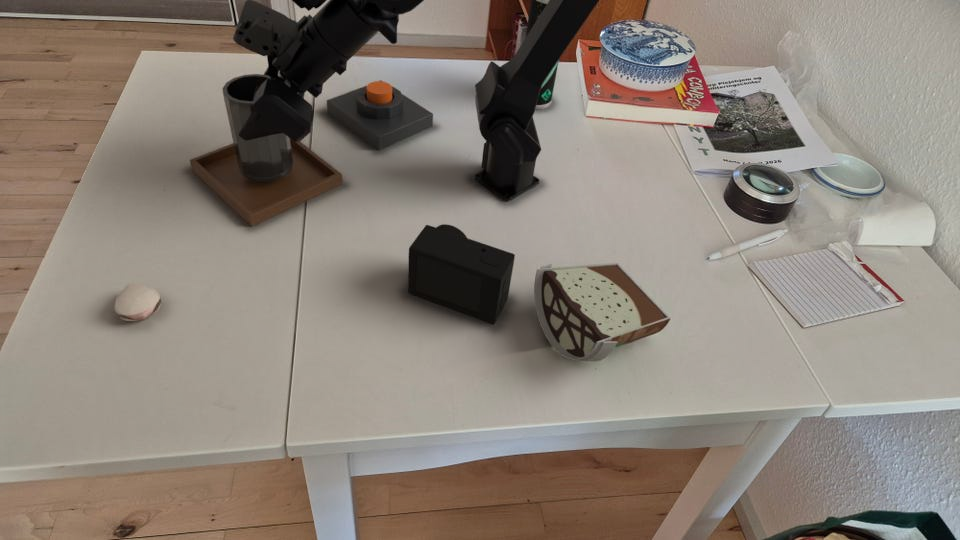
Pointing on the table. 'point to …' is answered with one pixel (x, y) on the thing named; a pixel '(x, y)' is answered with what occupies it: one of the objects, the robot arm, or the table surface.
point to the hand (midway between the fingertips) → (246, 120)
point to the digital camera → (459, 272)
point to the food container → (593, 309)
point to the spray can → (546, 92)
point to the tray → (270, 196)
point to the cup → (261, 154)
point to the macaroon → (137, 302)
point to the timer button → (379, 92)
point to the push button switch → (380, 117)
